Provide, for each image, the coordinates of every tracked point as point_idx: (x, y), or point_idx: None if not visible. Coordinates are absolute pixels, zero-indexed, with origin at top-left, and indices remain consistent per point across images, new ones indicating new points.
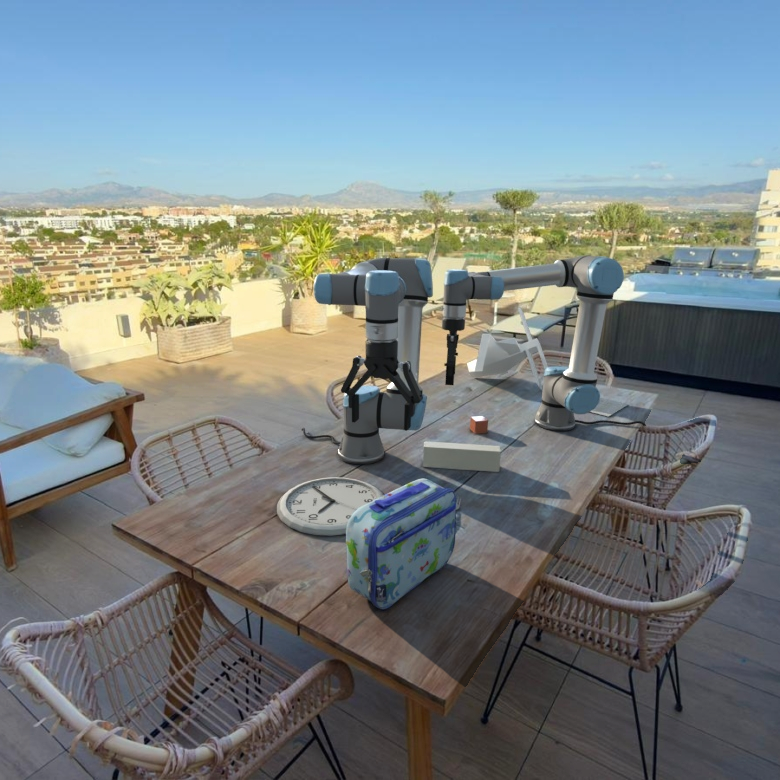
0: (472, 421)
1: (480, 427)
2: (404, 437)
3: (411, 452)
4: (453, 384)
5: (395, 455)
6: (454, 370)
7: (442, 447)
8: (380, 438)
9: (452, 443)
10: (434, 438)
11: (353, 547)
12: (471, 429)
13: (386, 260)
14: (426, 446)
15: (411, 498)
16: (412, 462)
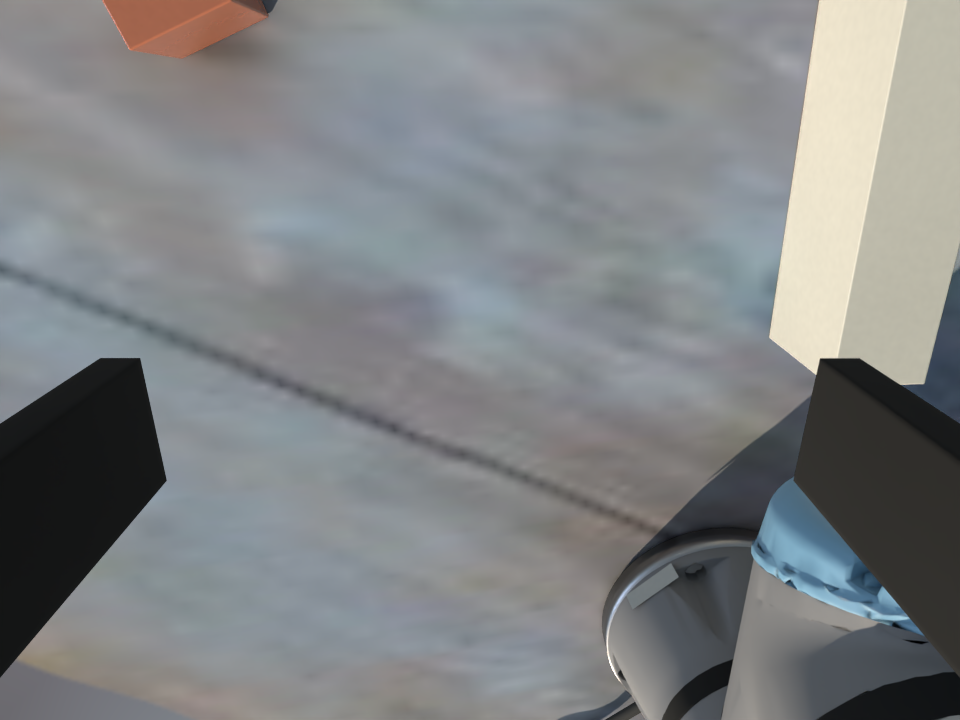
0: (184, 33)
1: None
2: (451, 465)
3: (656, 409)
4: (868, 365)
5: (701, 478)
6: (99, 403)
7: (946, 263)
8: (732, 608)
9: (879, 194)
10: (427, 302)
11: None
12: (205, 44)
13: None
14: (921, 367)
15: None
16: (786, 391)
